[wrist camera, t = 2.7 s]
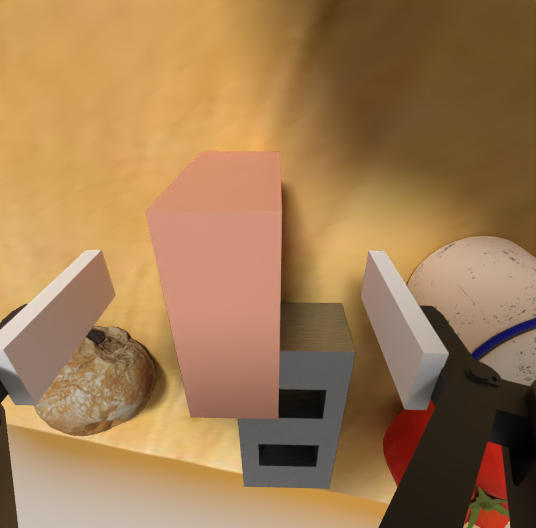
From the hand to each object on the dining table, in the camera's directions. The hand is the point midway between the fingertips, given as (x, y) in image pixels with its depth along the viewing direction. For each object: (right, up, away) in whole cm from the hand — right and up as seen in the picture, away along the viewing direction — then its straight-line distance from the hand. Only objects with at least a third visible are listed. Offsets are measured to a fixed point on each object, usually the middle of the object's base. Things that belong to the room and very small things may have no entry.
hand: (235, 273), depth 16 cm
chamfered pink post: (0, +3, +5) cm, 6 cm away
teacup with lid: (+18, -1, +8) cm, 19 cm away
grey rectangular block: (+3, -10, +13) cm, 17 cm away
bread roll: (-13, -9, +13) cm, 21 cm away
